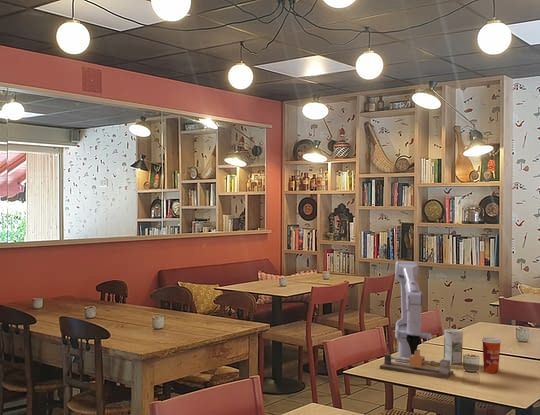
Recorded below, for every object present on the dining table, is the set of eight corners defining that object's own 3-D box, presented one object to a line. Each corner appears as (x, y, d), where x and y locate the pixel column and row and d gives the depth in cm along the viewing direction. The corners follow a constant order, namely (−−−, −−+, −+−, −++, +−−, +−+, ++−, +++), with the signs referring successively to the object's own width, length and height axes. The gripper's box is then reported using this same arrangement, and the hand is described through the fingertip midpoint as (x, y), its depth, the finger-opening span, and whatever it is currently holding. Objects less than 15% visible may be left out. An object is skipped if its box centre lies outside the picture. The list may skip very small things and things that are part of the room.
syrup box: (454, 360, 290) (454, 328, 290) (462, 363, 284) (463, 330, 284) (443, 361, 288) (443, 328, 288) (451, 364, 282) (452, 331, 282)
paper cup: (488, 374, 266) (488, 340, 266) (477, 370, 273) (478, 336, 273) (504, 373, 268) (505, 339, 268) (493, 369, 275) (494, 336, 275)
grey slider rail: (388, 364, 280) (388, 350, 281) (453, 373, 266) (453, 359, 266) (379, 368, 272) (380, 354, 272) (446, 378, 257) (446, 363, 257)
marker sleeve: (412, 363, 272) (413, 348, 272) (424, 365, 269) (424, 350, 269) (409, 365, 268) (409, 350, 268) (421, 367, 266) (421, 352, 266)
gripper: (393, 320, 270) (393, 353, 270) (427, 324, 262) (427, 358, 262) (400, 318, 276) (399, 350, 276) (433, 322, 268) (432, 355, 268)
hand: (413, 354), depth 270 cm, fingers closed
